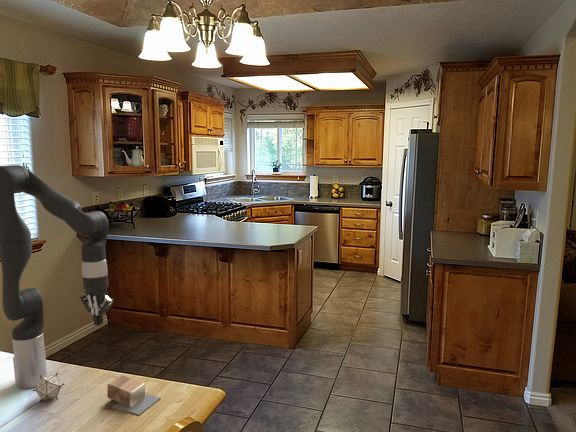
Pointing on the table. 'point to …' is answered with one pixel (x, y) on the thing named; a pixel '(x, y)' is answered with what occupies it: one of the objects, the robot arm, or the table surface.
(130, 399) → the walnut block
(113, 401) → the stop strip
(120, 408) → the slate-grey rubber mat
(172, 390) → the table surface
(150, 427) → the table surface
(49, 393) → the game die
